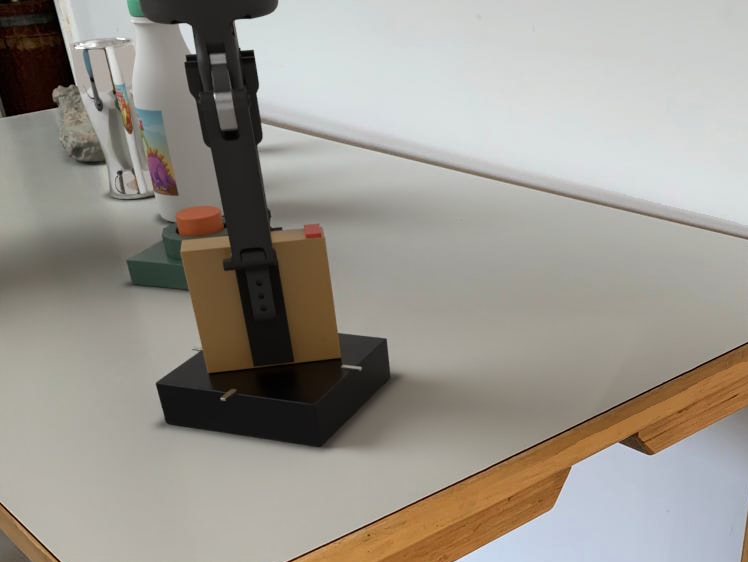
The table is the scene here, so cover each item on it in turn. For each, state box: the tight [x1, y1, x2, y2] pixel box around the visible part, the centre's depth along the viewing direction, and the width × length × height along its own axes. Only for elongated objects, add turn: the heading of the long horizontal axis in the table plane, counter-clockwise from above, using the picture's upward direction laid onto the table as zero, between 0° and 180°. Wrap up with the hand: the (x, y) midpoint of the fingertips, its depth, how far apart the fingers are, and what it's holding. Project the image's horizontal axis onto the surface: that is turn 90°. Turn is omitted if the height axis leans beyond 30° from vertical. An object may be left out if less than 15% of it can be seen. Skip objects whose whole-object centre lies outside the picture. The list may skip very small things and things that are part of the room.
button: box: [175, 206, 224, 236], centre depth 88 cm, size 4×4×2 cm
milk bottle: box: [126, 0, 224, 223], centre depth 99 cm, size 8×8×20 cm
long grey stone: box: [51, 84, 106, 163], centre depth 136 cm, size 35×5×10 cm
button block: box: [125, 216, 228, 291], centre depth 89 cm, size 11×9×4 cm
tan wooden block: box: [180, 223, 341, 373], centre depth 65 cm, size 9×2×8 cm, turn 101°
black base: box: [155, 332, 391, 448], centre depth 68 cm, size 13×13×3 cm
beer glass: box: [69, 37, 155, 200], centre depth 109 cm, size 7×7×15 cm
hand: (273, 352), depth 67 cm, fingers closed on tan wooden block, 2 cm apart
